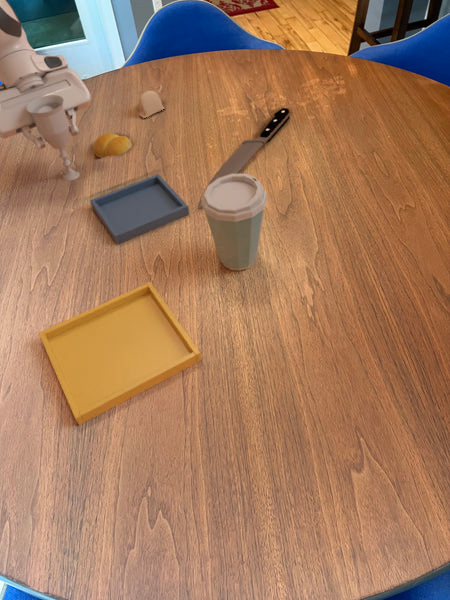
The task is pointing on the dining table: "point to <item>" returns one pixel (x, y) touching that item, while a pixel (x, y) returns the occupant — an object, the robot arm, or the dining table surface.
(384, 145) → the dining table surface
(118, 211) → the slate tray
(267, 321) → the dining table surface
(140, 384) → the mustard tray
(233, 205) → the disposable coffee cup
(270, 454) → the dining table surface
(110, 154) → the bread roll
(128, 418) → the dining table surface
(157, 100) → the decorative ornament
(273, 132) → the kitchen knife
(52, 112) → the chalice
